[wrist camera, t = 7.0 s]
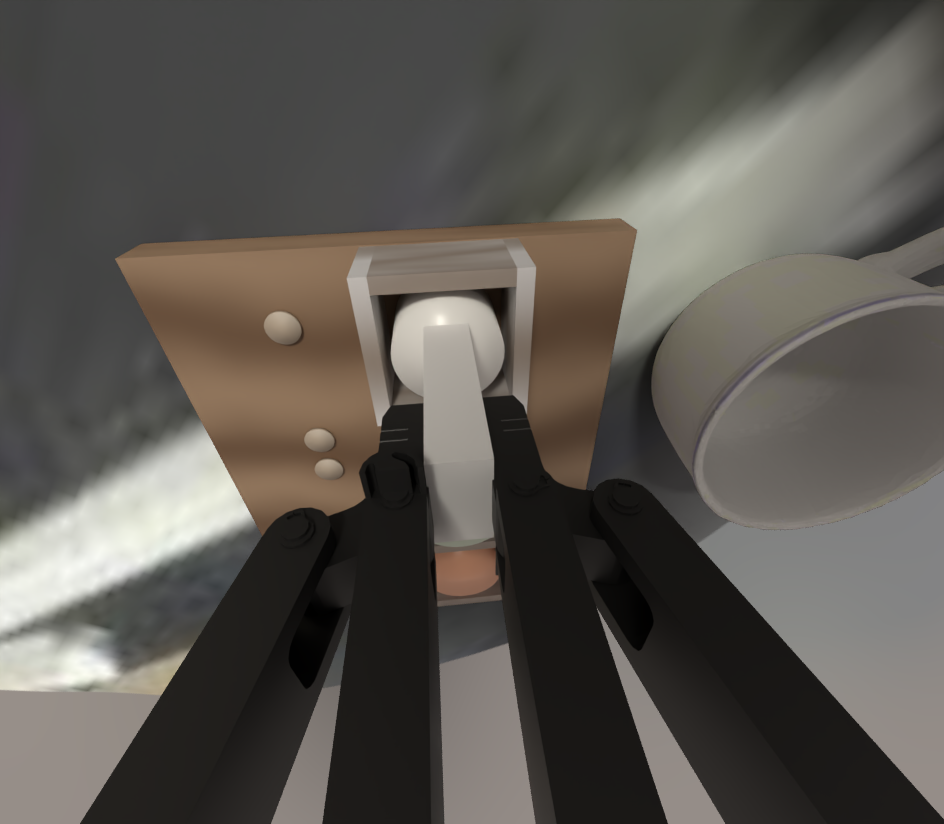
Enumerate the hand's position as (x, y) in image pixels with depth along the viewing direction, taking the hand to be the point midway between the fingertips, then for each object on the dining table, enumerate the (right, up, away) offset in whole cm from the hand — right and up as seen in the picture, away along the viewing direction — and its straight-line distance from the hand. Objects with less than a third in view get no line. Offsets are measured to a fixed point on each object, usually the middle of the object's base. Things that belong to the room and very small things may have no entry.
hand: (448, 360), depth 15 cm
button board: (-2, -2, +8) cm, 9 cm away
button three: (0, -9, +11) cm, 14 cm away
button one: (0, +2, +3) cm, 3 cm away
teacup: (+15, +3, +6) cm, 17 cm away
